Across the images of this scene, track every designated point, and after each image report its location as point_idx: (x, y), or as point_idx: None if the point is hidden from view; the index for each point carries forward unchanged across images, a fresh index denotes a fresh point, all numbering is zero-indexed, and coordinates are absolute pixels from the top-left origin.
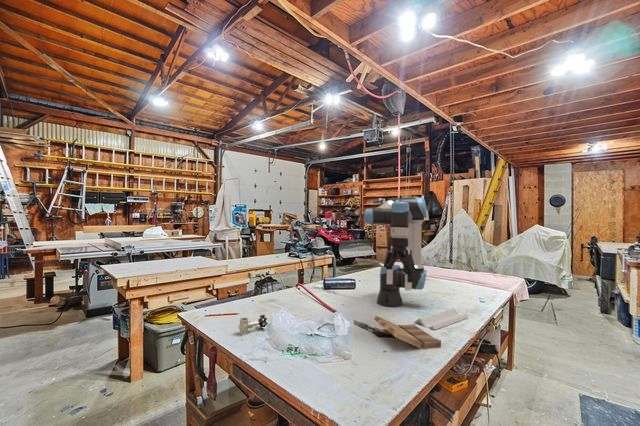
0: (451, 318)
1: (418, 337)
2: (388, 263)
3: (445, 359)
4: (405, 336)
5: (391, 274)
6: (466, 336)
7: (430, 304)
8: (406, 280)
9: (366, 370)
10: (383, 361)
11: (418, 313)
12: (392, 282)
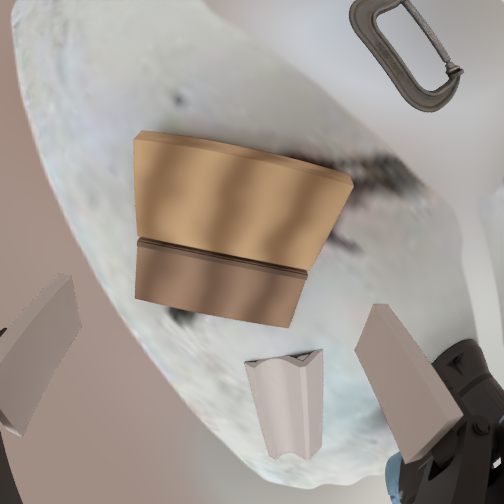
0: (285, 433)
1: (185, 262)
2: (474, 496)
3: (80, 242)
4: (134, 173)
5: (394, 409)
6: (180, 391)
7: (375, 440)
8: (8, 331)
9: (116, 6)
10: (128, 63)
11: (360, 396)
12: (359, 359)
